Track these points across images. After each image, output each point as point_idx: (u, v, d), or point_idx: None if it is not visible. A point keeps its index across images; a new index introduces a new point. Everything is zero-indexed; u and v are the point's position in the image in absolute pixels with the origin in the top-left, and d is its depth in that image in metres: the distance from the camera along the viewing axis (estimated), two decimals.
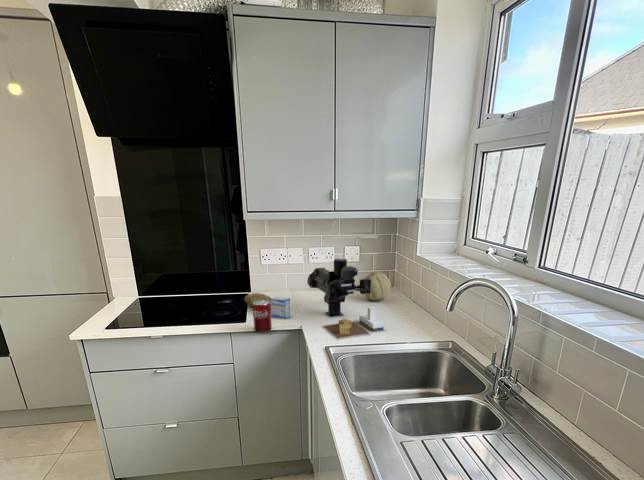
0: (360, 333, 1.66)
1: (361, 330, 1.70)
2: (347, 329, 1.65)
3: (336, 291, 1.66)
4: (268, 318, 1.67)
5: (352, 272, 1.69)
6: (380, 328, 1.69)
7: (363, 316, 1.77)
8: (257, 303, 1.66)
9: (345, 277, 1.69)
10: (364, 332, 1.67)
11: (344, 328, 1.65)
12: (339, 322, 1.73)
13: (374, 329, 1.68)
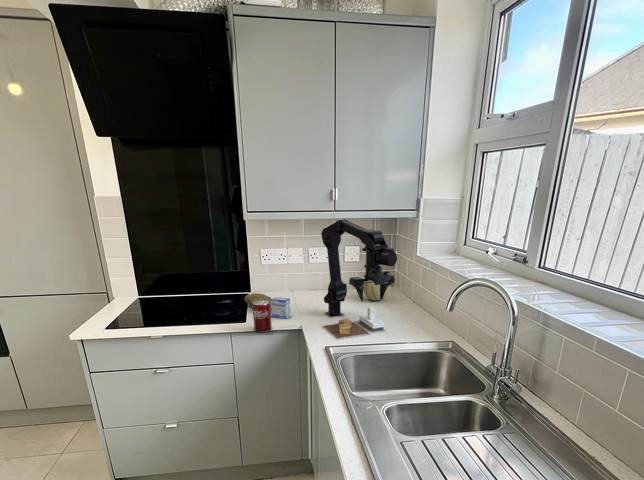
0: (360, 333, 1.66)
1: (361, 330, 1.70)
2: (347, 329, 1.65)
3: None
4: (268, 318, 1.67)
5: None
6: (380, 328, 1.69)
7: (363, 316, 1.77)
8: (257, 303, 1.66)
9: None
10: (364, 332, 1.67)
11: (344, 328, 1.65)
12: (339, 322, 1.73)
13: (374, 329, 1.68)
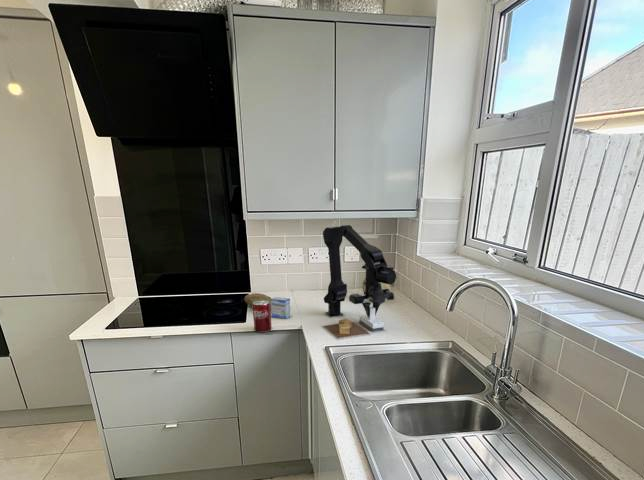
0: (360, 333, 1.66)
1: (361, 330, 1.70)
2: (347, 329, 1.65)
3: None
4: (268, 318, 1.67)
5: None
6: (380, 328, 1.69)
7: (363, 316, 1.77)
8: (257, 303, 1.66)
9: None
10: (364, 332, 1.67)
11: (344, 328, 1.65)
12: (339, 322, 1.73)
13: (374, 329, 1.68)
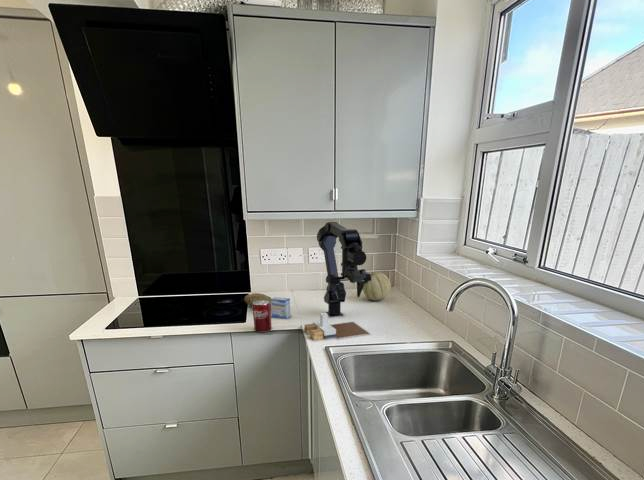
0: (360, 333, 1.66)
1: (361, 330, 1.70)
2: (321, 334, 1.60)
3: None
4: (268, 318, 1.67)
5: None
6: (332, 335, 1.62)
7: (316, 322, 1.69)
8: (257, 303, 1.66)
9: None
10: (364, 332, 1.67)
11: (319, 334, 1.60)
12: (305, 326, 1.68)
13: (326, 336, 1.61)
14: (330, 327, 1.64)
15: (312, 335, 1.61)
